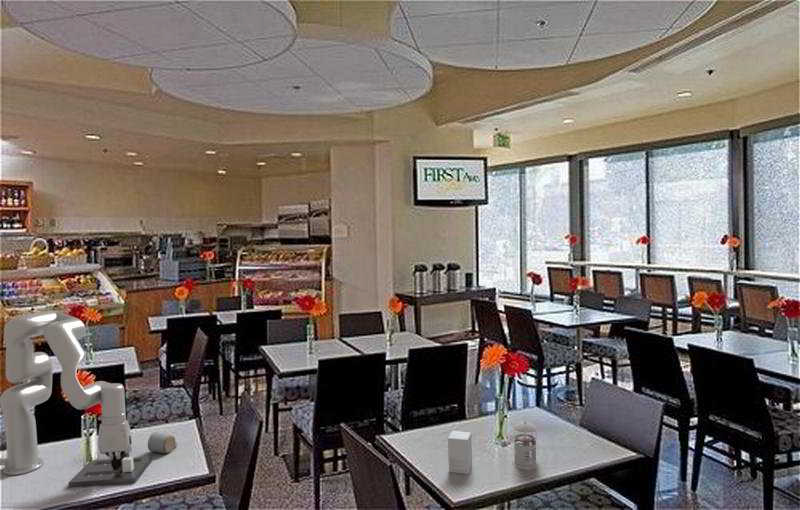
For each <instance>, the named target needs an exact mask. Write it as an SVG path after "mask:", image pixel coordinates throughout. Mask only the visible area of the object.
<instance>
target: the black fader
mask: <svg viewBox="0 0 800 510" xmlns="http://www.w3.org/2000/svg"><path fill="white" fill-rule="evenodd" d="M124 457H130V452H128V453H125V454H123V456H122V460H123V459H124Z"/></svg>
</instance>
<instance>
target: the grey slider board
mask: <svg viewBox="0 0 800 510" xmlns="http://www.w3.org/2000/svg"><path fill="white" fill-rule="evenodd" d="M132 457H133V463H134V469H133V470H132V472H123V468H122V466H121V467H120V468H119V469H118V470H113V467H112V465H111V460H110V458H107V459H93V460H94V461H93V462H91V463H89V462H87V463H86V465H84V467H82V469H80V471H78V472H77V473H76V475H74V476H73V477H72V478H71V479H70V480H69V482H68V489H73V488H74V489H75V488H87V487H88V488H89V487H101V486H113V485H114V486H115V485H116V486H117V485H127V484H129V485H130V484H136V483H137V481H138V480H139V479H140V477H141V476H142V475H143V473H145V472H146V470H147V468H148V467H149V465H150V464H151V463H152V461H153V459H152V455H149V456H135V457H134V456H132Z"/></svg>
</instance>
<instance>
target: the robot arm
mask: <svg viewBox="0 0 800 510" xmlns="http://www.w3.org/2000/svg"><path fill="white" fill-rule="evenodd" d="M86 332H87V327H86V325H85V324H84V322H83V321H82V320H81V319H79V318H77V317H74V316H72V315H69V314H66V313H62V312H59V311H56V310H45V311H40V312H34V313H28V314H25V315H20V316H17V317H14V318H12V319H10V320H9V321H8V322H7V323H6V325H5V327H4V329H3V335H4V336H3V337H4V341H5V377H6V380H7V381H8V382H10V383H11V384H17V385H14V386H11V387H9V388H6V390H5V391H3V392H2V393H1V395H0V408H1V411H2V415H3V419H4V430H5V441H6V443H5V444H6V456H7V457H0V466H4V467H3V468H2V469H3V470H2V471H3V474H4V475H7V476H8V475H9V476H17V475H18V476H19V475H23V474H26V473H27V474H28V473H31V472H34V471H35V470H38V469H39V468H41V467H42V466H43V465H44V459H42V458H40V457H39V449H38V435H37V434H38V433H37V423H36V418H35V416H34V414H33V413H32V411H30V409H31V408H32V407H35V406H37V405H40V404H43V403H44V402H46V401H48V400H49V399H50V397H51V395H52V391H53V389H52V388H53V362H52V358H51V357H50V356H49V355H48V354H47V353H46V352H43V351H36V352H34V349H35V348H34V342H33V341H32V339H31V338H33V337H34V338H35V337H38V336H44V340H45V341H46V343H47V344H48V346H49V348H50V349H51V351H52V352H53V354H54V355H55V357H56V359H57V361H58V362H59V364H60V365H61V372H60V387H61V391H62V392H63V394H64V396H65V397H66V400H67V401H68V402H69V403H70V405H71V406H72V407H73V408H75V409H77V410H81V411H82V410H87V409H88V408H89V409H90V408H91V407H93V406H95V405H98V404H101V406H100V407H101V415H99V416H98V418H97V420H98V421H101V423H99V429H98V436H97V437H98V439H97V443H98V444H97V445H98V446H97V447H98V448H97V449H98V452H99V454H100V455H105V456H107V457H108V459H110V460H111V465H112V467H113V470H118V469H119V468H120V467H121V466H122V456H123V454H125V453H128V452H129V453H131V452H132V450H133V448H132V443H133V442H132V441H133V440H132V433H131V427H130V423H129V420H127V417H126V400H125V399H126V398H125V396H126V395H125V387H124V385H123V384H122V383H118V382H116V383H115V382H113V383H111V382H107V381H104V380H99V381H95V382H92V383H89V384H87V385H84V386H82V384H81V383H80V381H79V379H78V376H77V373H78V372H77V370H78V368H79V365H80V364H82V362H83V361H85V359H86V358H87V353H86V350H84V348H83V347H82V345H81V343H80V341H79V340H81V339H82V338H84V337H85V335H86Z"/></svg>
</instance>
